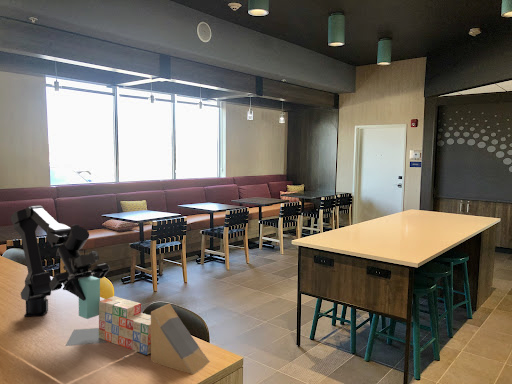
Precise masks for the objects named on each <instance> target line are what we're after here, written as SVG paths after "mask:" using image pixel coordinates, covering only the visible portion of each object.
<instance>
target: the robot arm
mask: <svg viewBox="0 0 512 384" xmlns="http://www.w3.org/2000/svg"><path fill="white" fill-rule="evenodd" d="M10 217H11V218H10V221H11V223H12V225H13V228H14V230H15V231H16V232H17V233H18V234H19V235H20V238H21V243H22V247H23V253H24V257H25V261H26V262H25V263H26V269H27V275H26V277H25V280H24V287H23V288H22V290H21V292H20V297H21V300H23V301H25V313H24V315H23V316H24V317H25V318H26V317H41V316H42V317H43V316H44V315H45V314H46V313H47V312H48V311H49V299H48V298H47V297H49V296H51V294H52V292H54V291H58V290H63V291H67V292H69V293H70V294H72V295H74V296H76V297H77V298H78V299H79V298H80V299H82V300H83V301H85V300H86V298H85V295H84V293H83V291H82V289H81V287H80V285H79V281H78V279H82V278H86V277H90V276H93V277H96V278H99V279H100V280H101V279H103V278H104V277H105V276H106V275H107V273H109V271H110V270H111V267H110V265H109V264H108V263H105V262H103V263H99V264H96V263H97V261H100V256H99V253H98V251H97V250H95V251H91V252H89V253H88V254H81V253H80V250H81V249H83V247H84V245H85V244H86V243H87V241H88V239H89V238H90V233H89V231H88V230H87V229H85V228H84V227H81V226H80V225H79V224H73V225H72V226H71V227H70V226H68V225H66V224H64V223H59V222H58V221H57V220H56V219H54V217H52V215H50V214H49V213H48V211H46V210H45V208H44V206H42V205H32V206H31V205H30V206H27V207H26V208H24V209H20V210H17V211H14V213H12V214H11V216H10ZM38 226H39V227H40V228H41V229H42V230H43V231H44V232H45V233H46V236H45V238H46V240H47V242H48V243H49V244H50V245H51V246H59V245H60V246H59V247H57V250H56V253H55V256H56V257H60V259H61V261H62V262H63V264H64V265H63V267H62V269H63V270H65V271H64V272H59V273H55V274H54V276H53V277H52V278H51V274H50V272H49V271H46V270H45V269H44V267H43V264H42V259H41V258H42V257H41V253H40V247H39V243H38V239H37V238H38V237H37V234H36V231H37V229H38ZM93 264H96V265H95V266H94V268H93V269H91V268H92V265H93ZM89 269H90V270H89ZM62 287H63V288H62Z"/></svg>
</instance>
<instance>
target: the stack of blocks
mask: <svg viewBox="0 0 512 384" xmlns="http://www.w3.org/2000/svg"><path fill="white" fill-rule="evenodd" d="M141 306H142V303H140V302H137V301H133V300H129V299H126V298H121V297H119V296H115V295H113V296H111V297H108V298H105V299H102V300H100V301H99V315H98V328H99V338H101V339H104V340H106V341H107V342H109V343H112V344H115V345H117V346H120V347H121V346H122V347H124V348H127V349H130V350H132V351H135V352H138V353H140V354H143V355H146V356H148V355H151V314H147V313H145V312H144V313H143V312H141V311H142V307H141Z"/></svg>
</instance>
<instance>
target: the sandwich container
mask: <svg viewBox="0 0 512 384" xmlns="http://www.w3.org/2000/svg"><path fill="white" fill-rule="evenodd" d="M150 315H151V353H150V358H151V359H150V362H152V363H155V364H158V365H160V366H164V367H167V368H170V369H174V370H177V371H181V372H184V373H188V374H191V375H196V374H197V373H198V372H199V371H200V370H203V368H204V367H206V366H207V365H208V364H209V363H210V362H211V361H210V360H209V358H208V357H207V355H206V354H205V352H203V350H202V349H201V347H200V346H199V345H198V343H197V341H196V340H195V339H194V337H193V336H192V334H191V333H190V331H189V330H188V329H187V327H186V325H185V324H184V323H183V321H182V320H181V318H180V316H178V314H177V312H176V310H174V308H173V307H172V305H171V303H167V304H165V305H162V306H160V307H158V308H156V309H154V310H151V312H150Z"/></svg>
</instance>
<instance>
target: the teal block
mask: <svg viewBox="0 0 512 384" xmlns="http://www.w3.org/2000/svg"><path fill="white" fill-rule="evenodd" d="M78 281H79V285H80V287H81V289H82V291H83V293H84V295H85V298H86V300H85V301H83V300H82V299H80V298H79V297H78V316H79V317H81V318H84V319H86V320H89V319H92V318H95V317H97V316H98V317H99V301H101V279H99V278H96V277H93V276H90V277H86V278H82V279H78Z"/></svg>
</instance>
